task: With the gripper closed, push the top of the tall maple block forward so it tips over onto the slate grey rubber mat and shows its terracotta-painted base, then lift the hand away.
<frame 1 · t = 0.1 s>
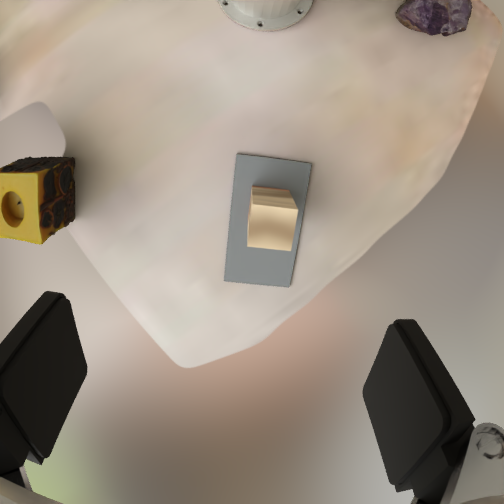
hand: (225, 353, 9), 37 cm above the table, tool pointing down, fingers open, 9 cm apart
candle: (50, 187, 43), on the table
rock: (422, 10, 32), on the table
mat: (265, 224, 46), on the table
maple block: (268, 205, 44), resting on mat
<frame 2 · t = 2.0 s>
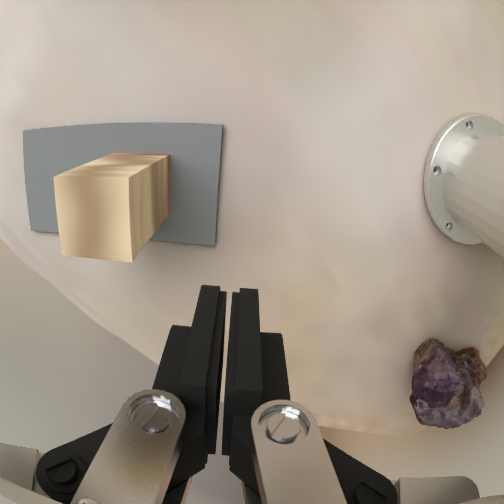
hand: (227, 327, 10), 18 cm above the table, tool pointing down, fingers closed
rock: (434, 363, 35), on the table
mat: (109, 181, 25), on the table
maple block: (140, 183, 25), resting on mat
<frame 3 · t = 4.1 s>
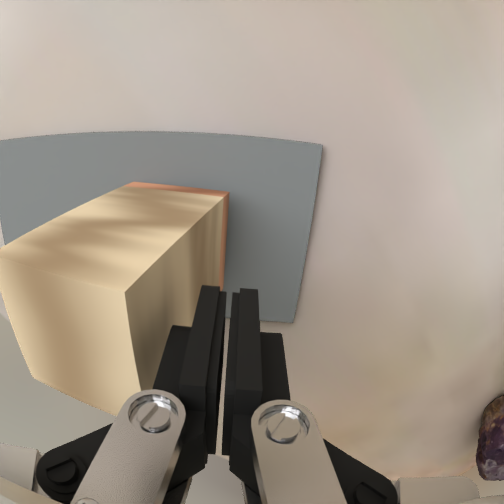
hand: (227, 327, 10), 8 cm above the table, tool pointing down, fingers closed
rock: (497, 413, 26), on the table
mat: (128, 225, 17), on the table
maple block: (177, 235, 16), point 1 cm above the table, tilted 10°, touching mat
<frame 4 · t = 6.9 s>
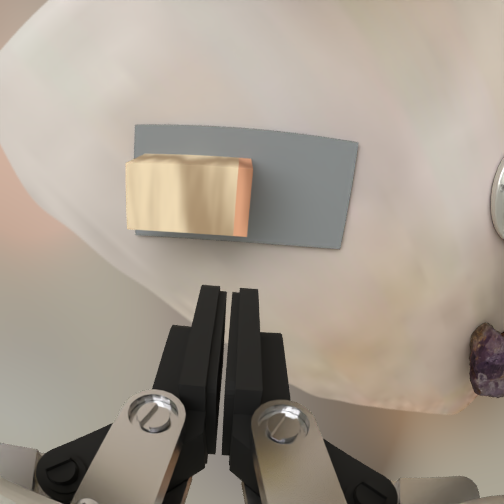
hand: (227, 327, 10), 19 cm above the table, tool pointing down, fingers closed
rock: (482, 344, 38), on the table
mat: (242, 186, 28), on the table
maple block: (249, 194, 25), point 3 cm above the table, tilted 90°, touching mat
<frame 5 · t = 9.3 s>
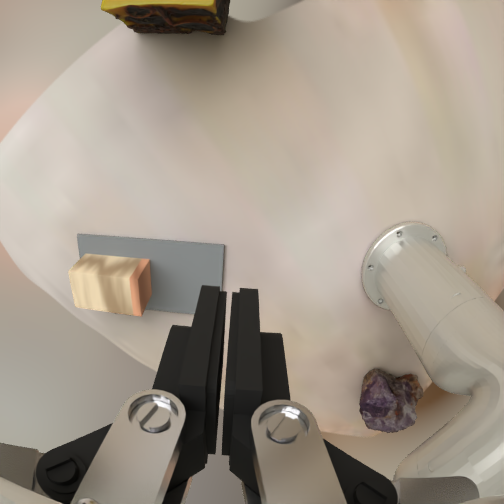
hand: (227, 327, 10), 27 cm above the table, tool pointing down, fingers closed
rock: (381, 384, 49), on the table
mat: (147, 275, 40), on the table
maple block: (145, 287, 37), point 3 cm above the table, tilted 90°, touching mat
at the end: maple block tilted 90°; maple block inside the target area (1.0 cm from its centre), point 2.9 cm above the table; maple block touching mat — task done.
